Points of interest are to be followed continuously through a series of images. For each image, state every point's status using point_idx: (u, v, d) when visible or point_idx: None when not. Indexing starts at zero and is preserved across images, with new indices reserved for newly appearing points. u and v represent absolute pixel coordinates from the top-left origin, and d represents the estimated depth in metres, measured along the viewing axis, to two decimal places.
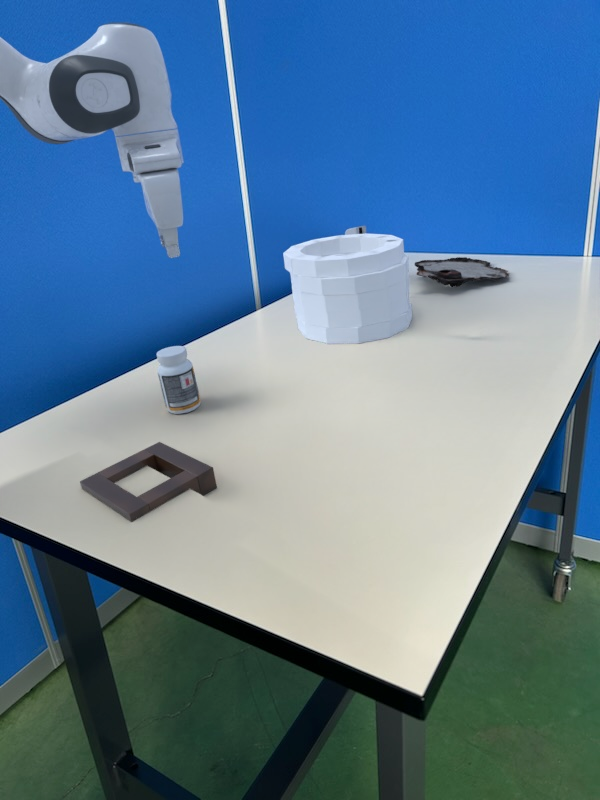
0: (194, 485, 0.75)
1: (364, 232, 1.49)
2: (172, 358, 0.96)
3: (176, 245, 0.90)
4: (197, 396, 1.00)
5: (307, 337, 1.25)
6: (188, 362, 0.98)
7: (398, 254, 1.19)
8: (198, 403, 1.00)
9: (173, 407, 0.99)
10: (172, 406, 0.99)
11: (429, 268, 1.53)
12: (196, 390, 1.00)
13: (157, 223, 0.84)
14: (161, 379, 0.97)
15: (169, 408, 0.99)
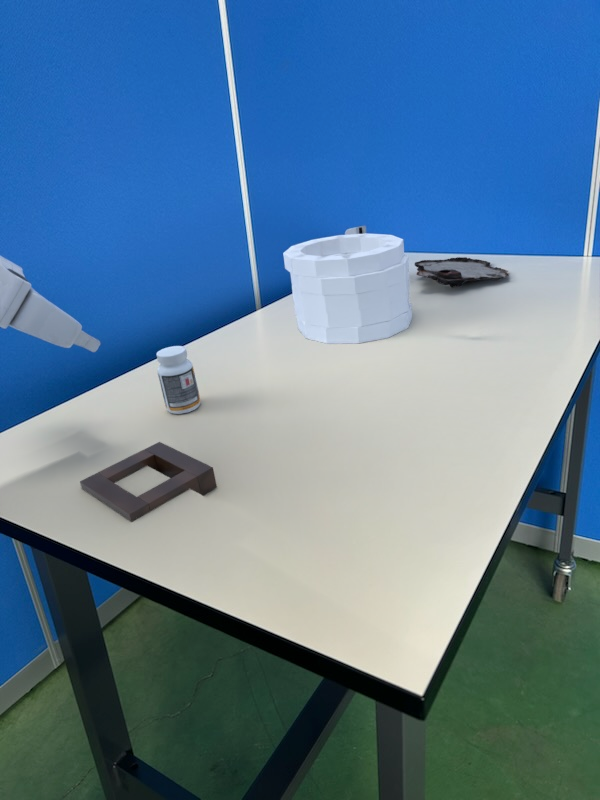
0: (194, 485, 0.75)
1: (364, 232, 1.49)
2: (172, 358, 0.96)
3: (90, 338, 0.84)
4: (197, 396, 1.00)
5: (307, 337, 1.25)
6: (188, 362, 0.98)
7: (398, 254, 1.19)
8: (198, 403, 1.00)
9: (173, 407, 0.99)
10: (172, 406, 0.99)
11: (429, 268, 1.53)
12: (196, 390, 1.00)
13: (64, 346, 0.78)
14: (161, 379, 0.97)
15: (169, 408, 0.99)
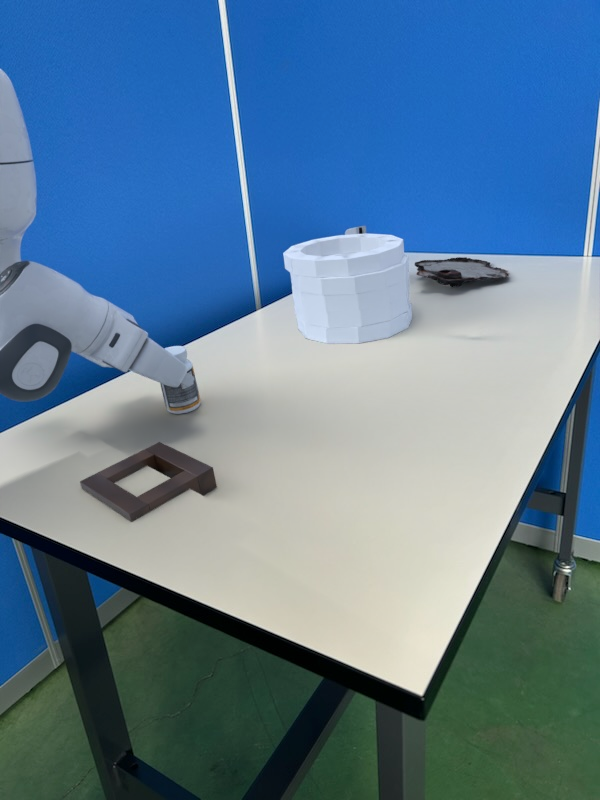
0: (194, 485, 0.75)
1: (364, 232, 1.49)
2: None
3: (186, 374, 0.95)
4: (197, 396, 1.00)
5: (307, 337, 1.25)
6: (188, 362, 0.98)
7: (398, 254, 1.19)
8: (198, 403, 1.00)
9: (173, 407, 0.99)
10: (172, 406, 0.99)
11: (429, 268, 1.53)
12: (196, 390, 1.00)
13: (173, 386, 0.89)
14: None
15: (169, 408, 0.99)
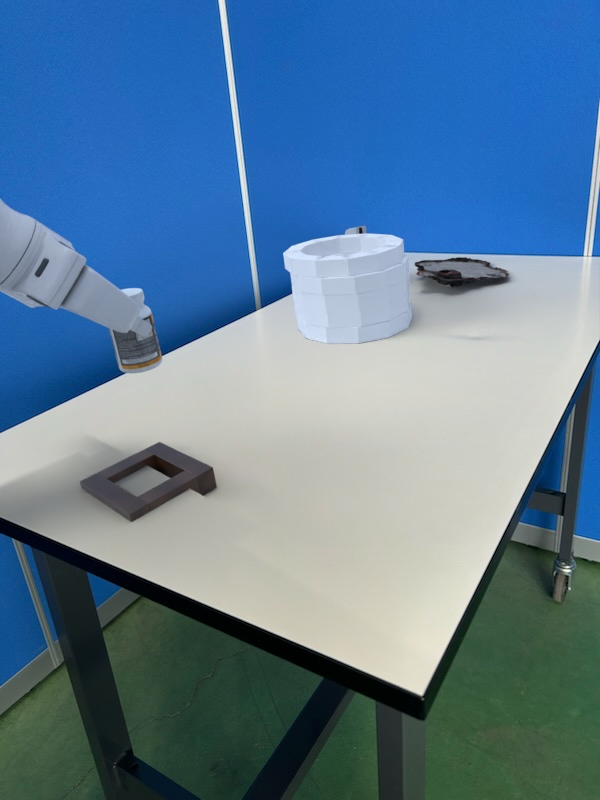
0: (194, 485, 0.75)
1: (364, 232, 1.49)
2: None
3: (141, 321, 0.75)
4: (157, 352, 0.80)
5: (307, 337, 1.25)
6: (145, 308, 0.78)
7: (398, 254, 1.19)
8: (159, 361, 0.80)
9: (127, 365, 0.78)
10: (126, 364, 0.78)
11: (429, 268, 1.53)
12: (156, 344, 0.80)
13: (121, 331, 0.68)
14: None
15: (121, 366, 0.79)
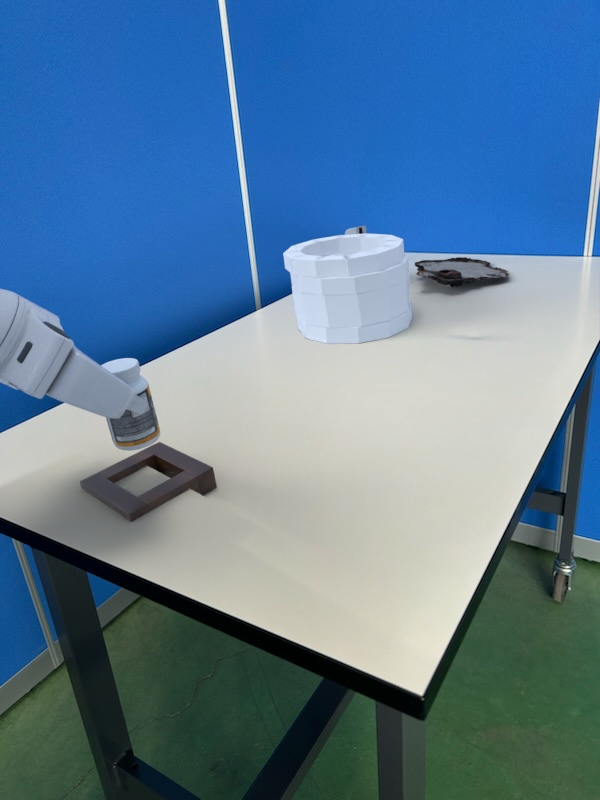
0: (194, 485, 0.75)
1: (364, 232, 1.49)
2: (118, 376, 0.69)
3: (136, 398, 0.69)
4: (155, 426, 0.74)
5: (307, 337, 1.25)
6: (141, 380, 0.72)
7: (398, 254, 1.19)
8: (156, 436, 0.74)
9: (122, 442, 0.72)
10: (120, 441, 0.72)
11: (429, 268, 1.53)
12: (153, 418, 0.73)
13: (113, 417, 0.62)
14: None
15: (116, 443, 0.73)
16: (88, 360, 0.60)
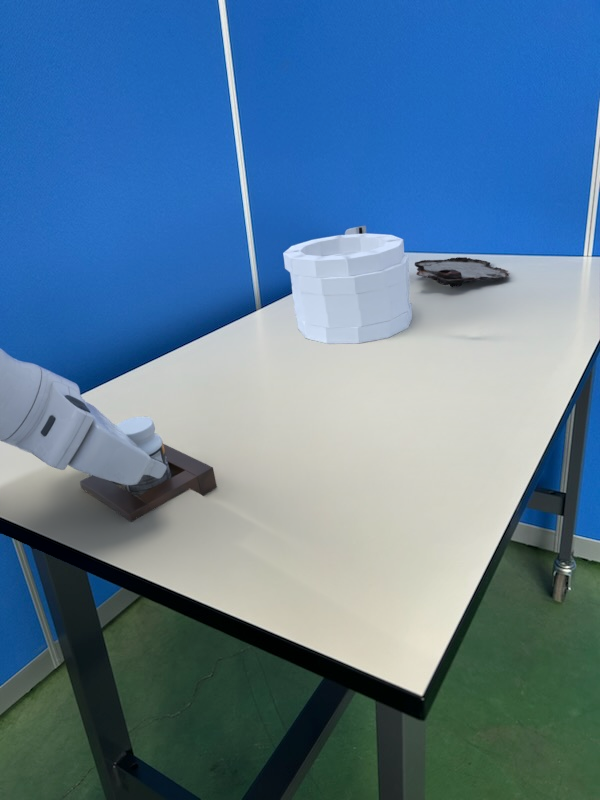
0: (194, 485, 0.75)
1: (364, 232, 1.49)
2: (134, 437, 0.73)
3: (155, 463, 0.71)
4: None
5: (307, 337, 1.25)
6: (156, 439, 0.75)
7: (398, 254, 1.19)
8: None
9: None
10: None
11: (429, 268, 1.53)
12: (167, 474, 0.77)
13: (131, 484, 0.65)
14: None
15: None
16: (108, 433, 0.63)
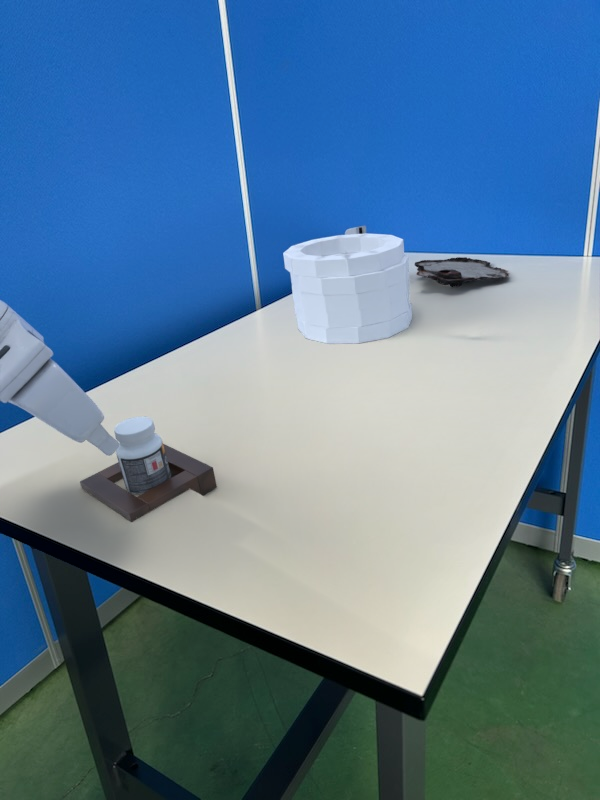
0: (194, 485, 0.75)
1: (364, 232, 1.49)
2: (134, 437, 0.73)
3: (108, 437, 0.65)
4: None
5: (307, 337, 1.25)
6: (156, 439, 0.75)
7: (398, 254, 1.19)
8: None
9: None
10: None
11: (429, 268, 1.53)
12: (167, 474, 0.77)
13: (76, 439, 0.58)
14: (120, 462, 0.74)
15: None
16: (64, 372, 0.57)
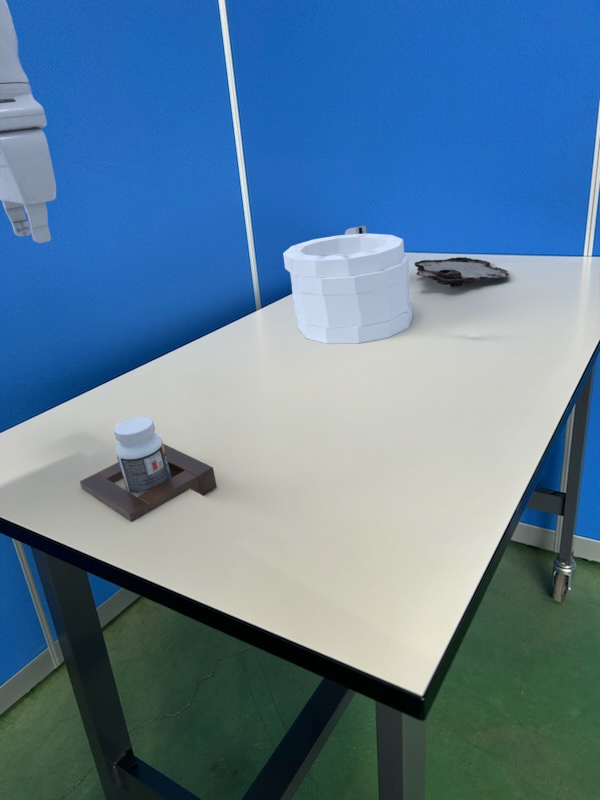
0: (194, 485, 0.75)
1: (364, 232, 1.49)
2: (134, 437, 0.73)
3: (45, 227, 0.72)
4: None
5: (307, 337, 1.25)
6: (156, 439, 0.75)
7: (398, 254, 1.19)
8: None
9: None
10: None
11: (429, 268, 1.53)
12: (167, 474, 0.77)
13: (24, 196, 0.66)
14: (120, 462, 0.74)
15: None
16: (46, 141, 0.67)
